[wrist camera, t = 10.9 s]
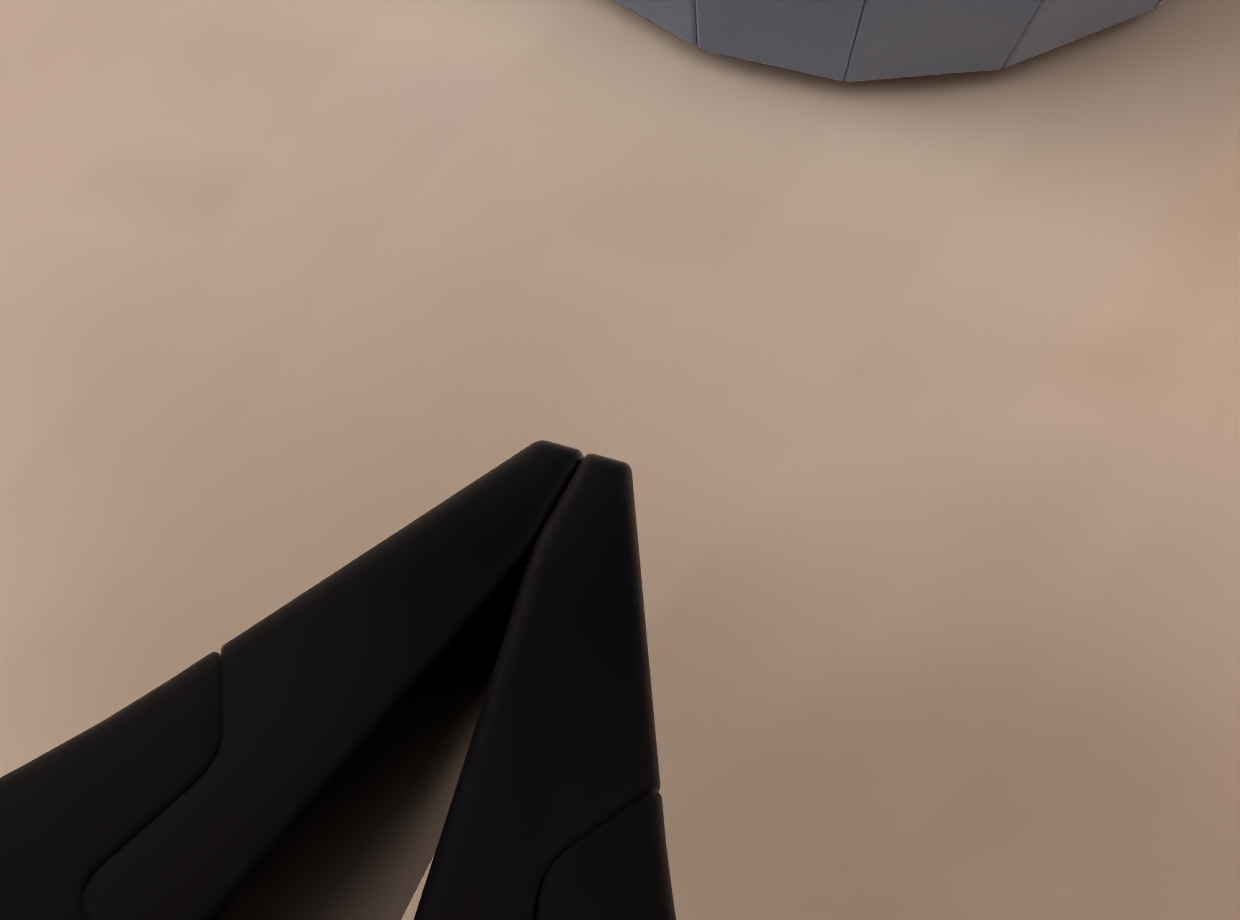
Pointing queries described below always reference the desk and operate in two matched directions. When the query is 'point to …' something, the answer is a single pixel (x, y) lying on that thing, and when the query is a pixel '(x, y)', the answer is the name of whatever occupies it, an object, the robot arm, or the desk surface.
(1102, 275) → the desk surface
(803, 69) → the bowl
